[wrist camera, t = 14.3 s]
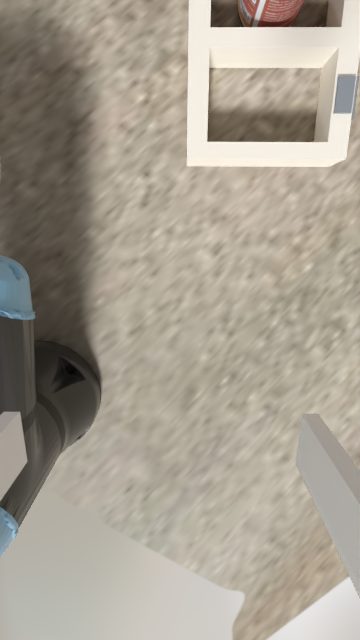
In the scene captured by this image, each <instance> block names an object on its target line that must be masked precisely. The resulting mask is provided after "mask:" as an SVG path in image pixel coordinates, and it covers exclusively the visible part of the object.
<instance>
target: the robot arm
mask: <svg viewBox="0 0 360 640" xmlns="http://www.w3.org/2000/svg"><path fill="white" fill-rule="evenodd" d="M33 319H35V312H34V311H33V308H32V300H31V291H30V282H29V277H28V274H27V272H26V270H25V269H24V267H23V266H22V265H21V264H20V263H18V262H17V261H15V260H13V259H11V258H9V257H6V256H2V255H0V557H1V556H2V554H3V553H4V551H5V550H6V549H7V547H8V546H9V544H10V543H11V542H12V541H13V540H14V538H15V537H16V535H17V533H18V528H19V526H20V525H21V523H22V521H23V519H24V518H25V516H26V514H27V512H28V510H29V509H30V507H31V505H32V503H33V501H34V499H35V498H36V496H37V494H38V493H39V491H40V489H41V487H42V485H43V484H44V482H45V480H46V478H47V476H48V475H49V473H50V471H51V469H52V467H53V466H54V464H55V462H56V460H57V458H58V457H59V455H60V454H61V453H62V452H63V451H64V450H65V449H66V448H67V447H68V446H70V445H72V444H73V443H75V442H77V441H78V440H79V439H80V438H82V437H83V436H84V435H85V433H86V432H87V431H88V430H89V428H90V427H91V425H92V423H93V421H94V419H95V417H96V415H97V413H98V410H99V407H100V400H101V394H100V387H99V383H98V380H97V378H96V376H95V374H94V372H93V370H92V369H91V367H90V366H89V365H88V364H87V362H86V361H85V360H84V359H83V358H82V357H80V356H79V355H78V354H77V353H75V352H74V351H72V350H70V349H68V348H66V347H64V346H62V345H59V344H56V343H51V342H45V341H34V323H33ZM296 466H297V468H298V470H299V472H300V474H301V476H302V478H303V480H304V482H305V484H306V487H307V489H308V491H309V493H310V495H311V497H312V499H313V501H314V503H315V505H316V507H317V510H318V512H319V514H320V516H321V518H322V520H323V522H324V524H325V526H326V528H327V530H328V533H329V535H330V537H331V539H332V541H333V543H334V545H335V547H336V549H337V551H338V553H339V555H340V558H341V560H342V562H343V564H344V566H345V568H346V570H347V572H348V574H349V576H350V578H351V580H352V583H353V585H354V587H355V589H356V591H357V593H358V595H359V597H360V470H359V469H358V468H357V466H356V465H355V464H354V462H353V461H352V459H351V458H350V457H349V455H348V454H347V453H346V451H345V450H344V449H343V447H342V446H341V444H340V443H339V442H338V440H337V439H336V438H335V436H334V435H333V434H332V432H331V431H330V429H329V428H328V427H327V425H326V424H325V423H324V421H323V420H322V419H321V417H320V416H319V415H318V414H301V422H300V431H299V440H298V449H297V458H296Z"/></svg>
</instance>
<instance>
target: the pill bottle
mask: <svg viewBox="0 0 360 640" xmlns="http://www.w3.org/2000/svg"><path fill="white" fill-rule="evenodd" d="M304 1H305V0H238V9H239V15H240V19H241V21H242V23H243V25H244V27H290V26H291V25H292V23H293V22H294V20H295V18H296V17H297V15H298V13H299V11H300V9H301V7H302V5H303V3H304Z"/></svg>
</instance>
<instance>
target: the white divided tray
mask: <svg viewBox="0 0 360 640" xmlns="http://www.w3.org/2000/svg"><path fill="white" fill-rule="evenodd" d="M210 20H211V0H189V37H188V117H187V166H274V167H329V166H332V165H334V164H336V163H338V162H340V161H342V160H345V159H346V155H347V147H348V140H349V132H350V125H351V120H352V119H354V111H355V104H356V96H357V89H358V81H359V76H357V71H358V64H359V56H360V0H329V2H328V12H327V21H326V27H210ZM209 68H321V78H320V87H319V96H318V106H317V115H316V125H315V134H314V142H207V130H208V93H209Z"/></svg>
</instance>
